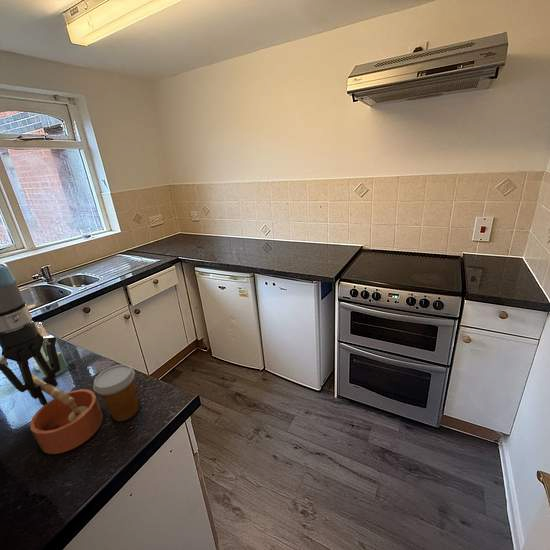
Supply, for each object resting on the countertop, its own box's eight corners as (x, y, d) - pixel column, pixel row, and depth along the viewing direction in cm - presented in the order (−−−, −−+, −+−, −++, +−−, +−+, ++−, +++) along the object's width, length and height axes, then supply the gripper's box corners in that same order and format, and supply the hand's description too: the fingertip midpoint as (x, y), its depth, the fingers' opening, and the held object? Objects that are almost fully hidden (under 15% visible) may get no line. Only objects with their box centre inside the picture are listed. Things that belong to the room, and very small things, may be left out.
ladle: (33, 400, 85) (16, 379, 81) (49, 388, 88) (34, 368, 84) (80, 431, 73) (63, 409, 69) (96, 417, 76) (81, 394, 72)
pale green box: (43, 378, 96) (35, 361, 94) (63, 366, 101) (56, 351, 98) (48, 380, 95) (40, 364, 92) (67, 369, 99) (61, 353, 97)
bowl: (27, 459, 68) (16, 438, 66) (59, 412, 81) (50, 394, 79) (89, 448, 70) (80, 427, 67) (111, 404, 82) (104, 385, 80)
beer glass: (62, 360, 104) (46, 323, 99) (41, 373, 99) (23, 334, 93) (51, 356, 107) (35, 320, 102) (29, 368, 101) (11, 331, 96)
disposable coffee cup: (102, 411, 80) (88, 375, 76) (139, 393, 85) (127, 358, 81) (111, 433, 73) (95, 395, 69) (150, 411, 78) (138, 374, 74)
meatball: (54, 437, 74) (41, 435, 73) (59, 425, 76) (47, 424, 75) (56, 431, 72) (42, 429, 71) (61, 420, 75) (48, 418, 74)
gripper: (-20, 346, 64) (24, 427, 73) (55, 314, 76) (85, 386, 85) (-33, 339, 68) (11, 417, 76) (41, 309, 80) (71, 379, 88)
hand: (50, 401), depth 81 cm, fingers closed on ladle, 2 cm apart
